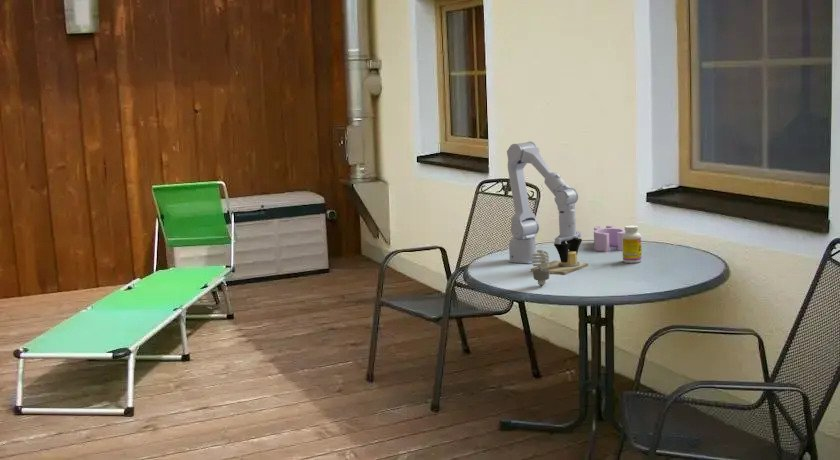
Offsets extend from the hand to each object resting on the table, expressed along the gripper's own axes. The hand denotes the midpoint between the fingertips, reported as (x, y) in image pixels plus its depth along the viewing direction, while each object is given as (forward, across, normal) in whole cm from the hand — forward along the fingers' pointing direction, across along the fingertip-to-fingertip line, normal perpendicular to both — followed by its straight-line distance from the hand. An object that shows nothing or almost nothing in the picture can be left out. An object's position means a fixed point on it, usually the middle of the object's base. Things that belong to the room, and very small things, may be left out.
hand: (568, 260), depth 343 cm
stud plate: (+2, -3, +2) cm, 4 cm away
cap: (+1, 0, 0) cm, 1 cm away
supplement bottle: (+3, +17, -16) cm, 23 cm away
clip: (+3, +39, +5) cm, 40 cm away
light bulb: (+3, -29, -7) cm, 30 cm away
